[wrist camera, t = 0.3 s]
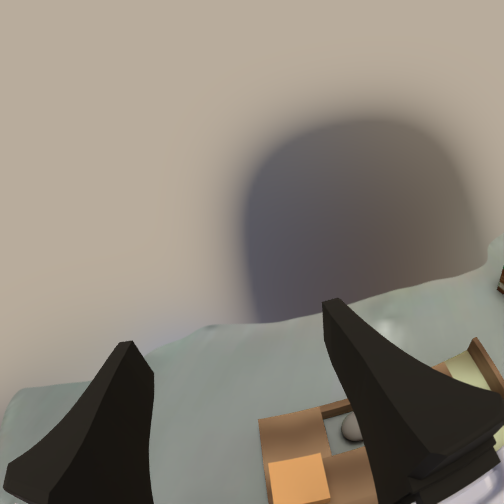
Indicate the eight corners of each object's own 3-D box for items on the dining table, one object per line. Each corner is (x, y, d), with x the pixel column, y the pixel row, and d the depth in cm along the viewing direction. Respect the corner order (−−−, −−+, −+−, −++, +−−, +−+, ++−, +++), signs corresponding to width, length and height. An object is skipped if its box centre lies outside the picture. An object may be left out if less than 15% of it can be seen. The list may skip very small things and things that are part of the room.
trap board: (519, 466, 11) (540, 454, 9) (281, 566, 13) (273, 572, 10) (465, 358, 25) (476, 336, 23) (262, 426, 26) (253, 411, 24)
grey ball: (374, 439, 22) (379, 429, 20) (344, 448, 22) (346, 439, 20) (366, 414, 24) (369, 402, 23) (338, 423, 24) (338, 412, 23)
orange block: (330, 502, 16) (330, 497, 14) (281, 511, 16) (274, 508, 14) (321, 463, 20) (320, 452, 18) (276, 472, 20) (268, 463, 18)
